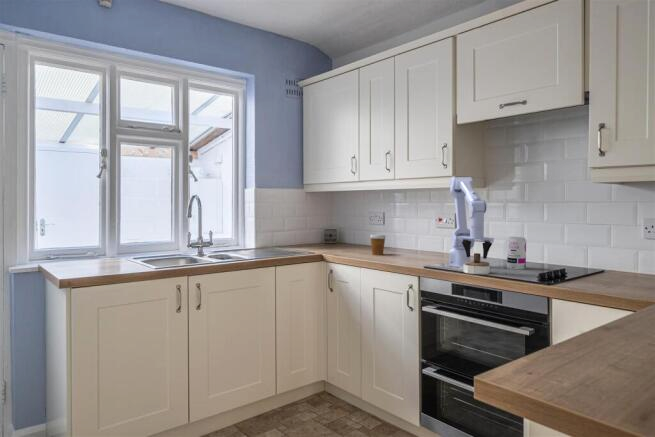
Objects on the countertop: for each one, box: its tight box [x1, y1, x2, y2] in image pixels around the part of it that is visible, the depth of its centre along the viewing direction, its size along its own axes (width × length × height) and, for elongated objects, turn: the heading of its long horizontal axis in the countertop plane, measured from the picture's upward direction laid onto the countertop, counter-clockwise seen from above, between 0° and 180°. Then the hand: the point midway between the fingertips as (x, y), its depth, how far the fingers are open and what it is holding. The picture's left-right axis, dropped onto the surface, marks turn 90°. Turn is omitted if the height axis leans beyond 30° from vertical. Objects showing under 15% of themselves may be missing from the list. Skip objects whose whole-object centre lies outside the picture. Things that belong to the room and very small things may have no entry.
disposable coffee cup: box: [369, 233, 386, 256], centre depth 275 cm, size 10×10×12 cm
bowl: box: [462, 264, 491, 275], centre depth 206 cm, size 11×11×4 cm
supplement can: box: [506, 236, 527, 270], centre depth 219 cm, size 8×8×15 cm
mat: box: [490, 267, 521, 275], centre depth 211 cm, size 14×10×1 cm
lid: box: [465, 252, 490, 266], centre depth 206 cm, size 10×10×5 cm
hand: (476, 257), depth 206 cm, fingers open, 7 cm apart
